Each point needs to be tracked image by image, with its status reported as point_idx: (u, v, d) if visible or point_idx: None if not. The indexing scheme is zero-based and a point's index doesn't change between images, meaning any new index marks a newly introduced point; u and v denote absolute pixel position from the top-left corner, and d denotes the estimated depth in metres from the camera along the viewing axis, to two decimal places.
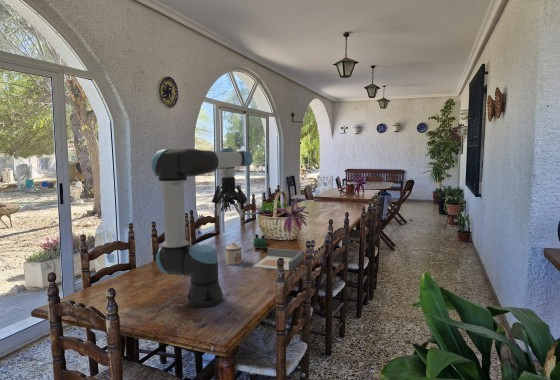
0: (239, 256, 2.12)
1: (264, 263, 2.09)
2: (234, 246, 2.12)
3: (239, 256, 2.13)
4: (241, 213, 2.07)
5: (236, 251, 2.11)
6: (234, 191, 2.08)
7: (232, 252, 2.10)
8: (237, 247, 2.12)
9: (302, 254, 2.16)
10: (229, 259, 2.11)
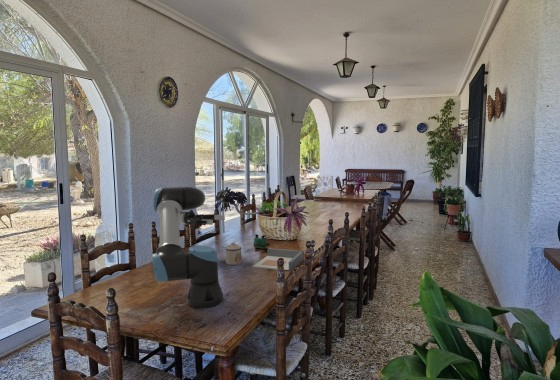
0: (239, 256, 2.12)
1: (264, 263, 2.09)
2: (234, 246, 2.12)
3: (239, 256, 2.13)
4: None
5: (236, 251, 2.11)
6: (201, 219, 2.25)
7: (232, 252, 2.10)
8: (237, 247, 2.12)
9: (302, 254, 2.16)
10: (229, 259, 2.11)
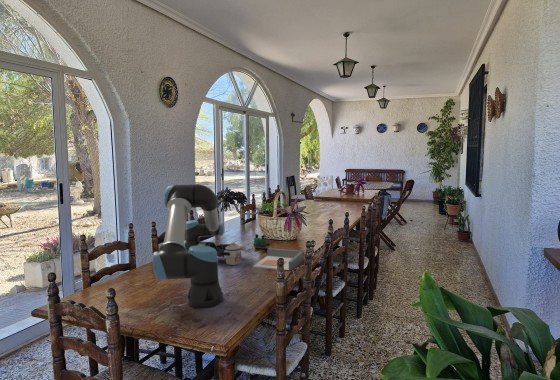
0: (239, 256, 2.12)
1: (264, 263, 2.09)
2: (234, 246, 2.12)
3: (239, 256, 2.13)
4: None
5: (236, 251, 2.11)
6: (222, 250, 2.22)
7: None
8: (237, 247, 2.12)
9: (302, 254, 2.16)
10: (229, 259, 2.11)
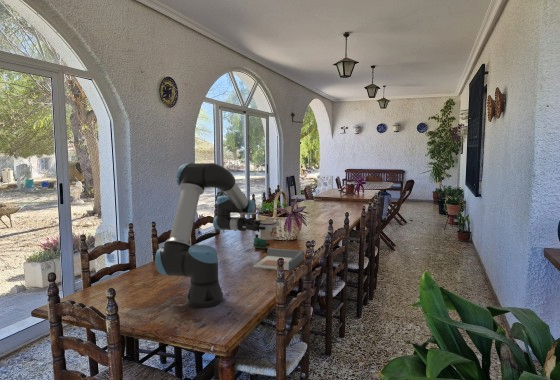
0: (274, 231, 2.06)
1: (264, 263, 2.09)
2: (269, 220, 2.05)
3: (275, 231, 2.06)
4: None
5: (272, 226, 2.04)
6: (254, 225, 2.15)
7: None
8: (272, 221, 2.05)
9: (302, 254, 2.16)
10: (264, 233, 2.04)
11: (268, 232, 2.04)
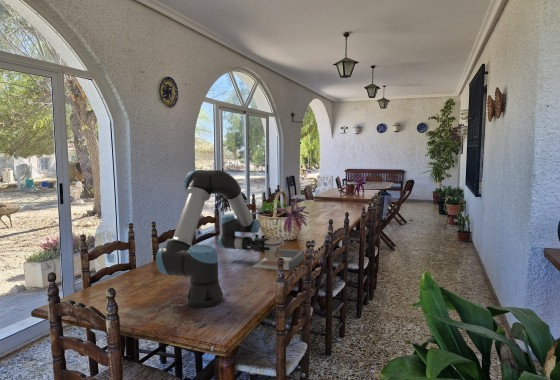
0: (279, 251, 2.06)
1: (264, 263, 2.09)
2: (274, 241, 2.05)
3: (279, 251, 2.06)
4: None
5: (276, 246, 2.04)
6: (259, 245, 2.15)
7: None
8: (277, 242, 2.05)
9: (302, 254, 2.16)
10: (269, 254, 2.04)
11: (273, 252, 2.04)
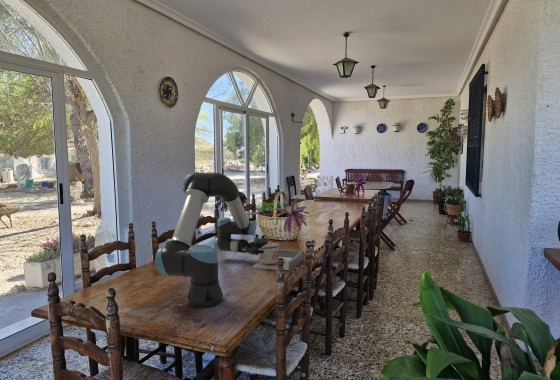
0: (276, 254, 2.05)
1: None
2: (270, 244, 2.06)
3: (277, 255, 2.05)
4: None
5: (273, 249, 2.04)
6: (255, 247, 2.17)
7: None
8: (274, 245, 2.06)
9: (302, 254, 2.16)
10: (266, 257, 2.04)
11: (270, 256, 2.03)
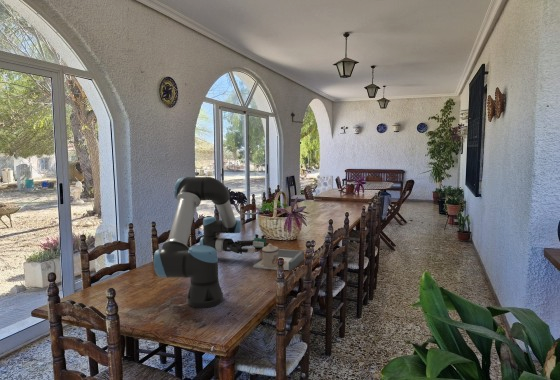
0: (276, 258, 2.04)
1: None
2: (271, 248, 2.03)
3: (277, 258, 2.04)
4: None
5: (273, 253, 2.02)
6: (240, 246, 2.20)
7: (269, 254, 2.02)
8: (274, 249, 2.03)
9: (302, 254, 2.16)
10: (266, 261, 2.03)
11: (270, 260, 2.02)
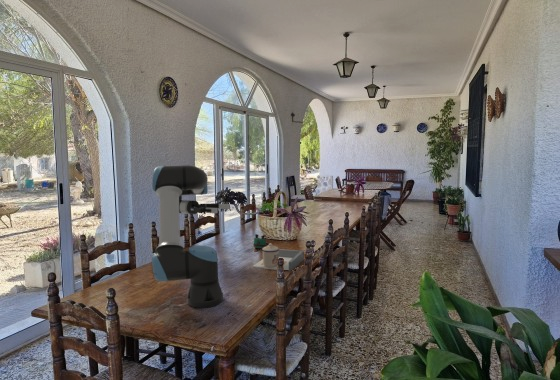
0: (276, 258, 2.04)
1: None
2: (271, 247, 2.04)
3: (277, 258, 2.05)
4: None
5: (274, 253, 2.03)
6: None
7: (269, 253, 2.02)
8: (274, 248, 2.04)
9: (302, 254, 2.16)
10: (266, 261, 2.03)
11: (270, 259, 2.02)
